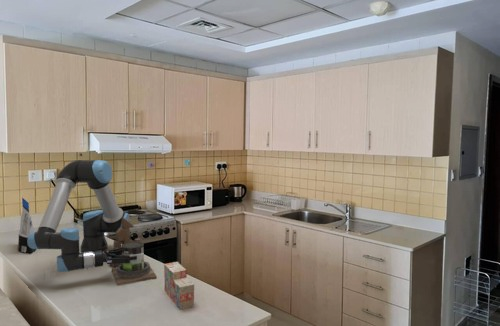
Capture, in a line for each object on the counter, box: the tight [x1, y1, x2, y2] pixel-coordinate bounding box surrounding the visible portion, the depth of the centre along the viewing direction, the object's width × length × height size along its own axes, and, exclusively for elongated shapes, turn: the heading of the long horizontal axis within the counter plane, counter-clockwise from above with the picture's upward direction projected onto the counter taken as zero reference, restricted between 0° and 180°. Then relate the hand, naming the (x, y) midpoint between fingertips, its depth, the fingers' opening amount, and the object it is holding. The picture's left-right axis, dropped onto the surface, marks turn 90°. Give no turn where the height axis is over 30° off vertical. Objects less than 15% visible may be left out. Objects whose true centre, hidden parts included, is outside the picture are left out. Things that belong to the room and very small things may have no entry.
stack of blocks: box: [163, 261, 195, 310], centre depth 156 cm, size 21×6×12 cm, turn 29°
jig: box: [111, 261, 157, 286], centre depth 182 cm, size 20×18×4 cm
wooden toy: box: [108, 217, 142, 269], centre depth 197 cm, size 15×7×25 cm, turn 130°
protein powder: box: [17, 197, 38, 255], centre depth 221 cm, size 10×24×30 cm, turn 39°
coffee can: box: [121, 241, 145, 271], centre depth 181 cm, size 10×10×14 cm
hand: (141, 252), depth 184 cm, fingers open, 11 cm apart
